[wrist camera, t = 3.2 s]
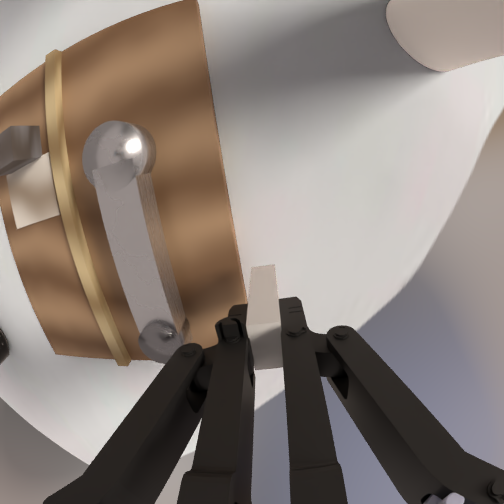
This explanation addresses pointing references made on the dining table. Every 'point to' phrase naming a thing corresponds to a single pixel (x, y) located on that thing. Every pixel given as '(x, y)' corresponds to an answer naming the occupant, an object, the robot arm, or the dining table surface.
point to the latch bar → (137, 233)
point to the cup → (448, 31)
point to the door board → (84, 193)
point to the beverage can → (3, 347)
